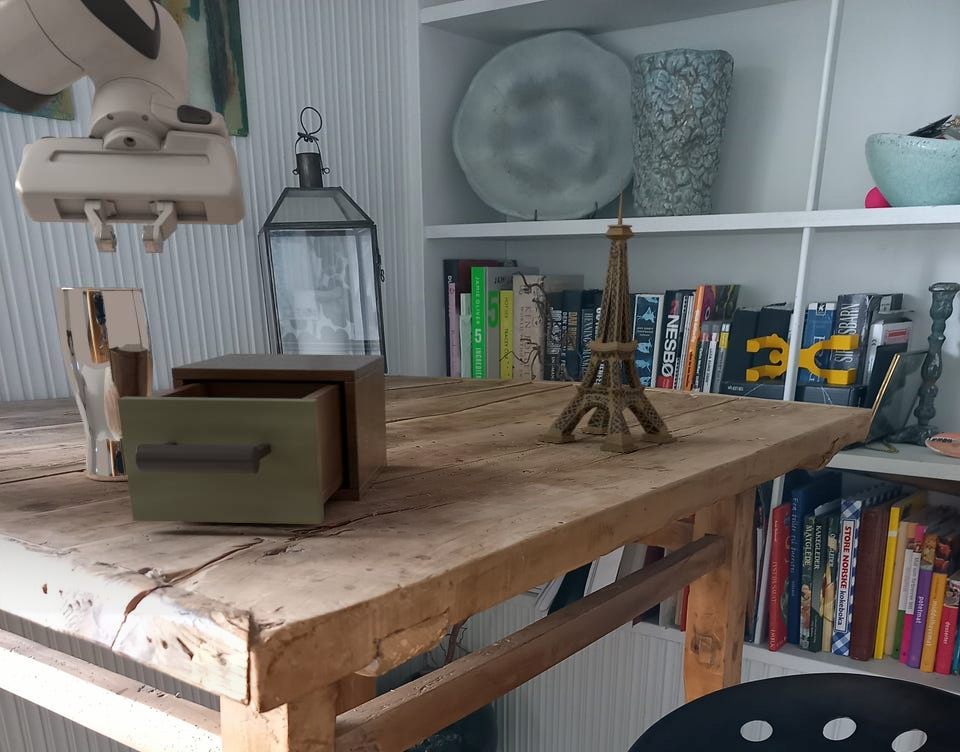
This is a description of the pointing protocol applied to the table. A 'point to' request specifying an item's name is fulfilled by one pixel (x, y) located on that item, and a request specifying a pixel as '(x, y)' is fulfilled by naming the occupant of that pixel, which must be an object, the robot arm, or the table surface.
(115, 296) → the beer glass
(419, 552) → the table surface
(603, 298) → the eiffel tower
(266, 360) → the cabinet
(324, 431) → the drawer
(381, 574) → the table surface
